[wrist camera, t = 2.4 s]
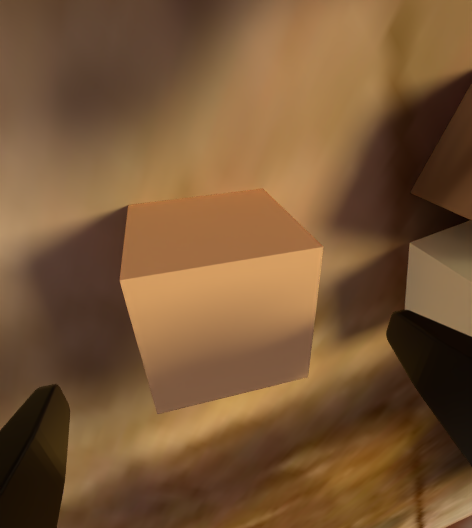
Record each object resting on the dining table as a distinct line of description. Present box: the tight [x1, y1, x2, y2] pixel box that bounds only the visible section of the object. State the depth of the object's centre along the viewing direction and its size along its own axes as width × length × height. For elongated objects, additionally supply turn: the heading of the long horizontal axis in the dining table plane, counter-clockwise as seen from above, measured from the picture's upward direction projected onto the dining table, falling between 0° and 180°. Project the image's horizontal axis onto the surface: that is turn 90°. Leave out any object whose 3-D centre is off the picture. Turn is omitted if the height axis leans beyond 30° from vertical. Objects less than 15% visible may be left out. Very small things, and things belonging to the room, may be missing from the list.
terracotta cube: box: [120, 189, 323, 414], centre depth 11 cm, size 5×5×5 cm
